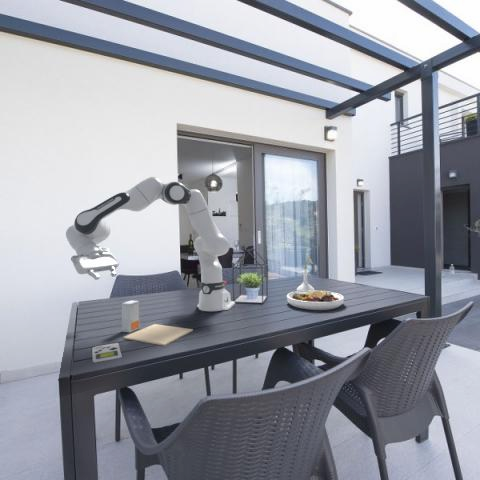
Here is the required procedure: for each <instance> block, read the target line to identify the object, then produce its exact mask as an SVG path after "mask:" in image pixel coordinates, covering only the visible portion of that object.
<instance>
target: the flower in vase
mask: <svg viewBox="0 0 480 480" xmlns="http://www.w3.org/2000/svg"><path fill="white" fill-rule="evenodd" d="M306 257H307V260H306V262H305V265H304V267H303V269H304V270H301V273H302V276H303V282H302V283H301V284H300V285H299V286H297V288H296V291H308V290H314V291H315V288H314V287H313V286H312V285H311V284H309V282H308V274H309V272H310V270H307V269H308V265H307V263H308V261H309V262H310V264H311V265H313V264H314V263H313V261H312V259H311V258H310V256H309V255H308V253H306Z"/></svg>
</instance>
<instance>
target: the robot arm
mask: <svg viewBox="0 0 480 480" xmlns="http://www.w3.org/2000/svg"><path fill="white" fill-rule="evenodd" d="M160 199H161V200H162V201H163V202H164V203H167V204H169V205H172V206H175V205H182V206H183V207H184V208H185V212H186V213H187V216H188V219H189V221H190V223H191V227H192V228H193V230H194V231H195V232H196V233H197V234H198V236H197V237H196V238H195V240H194V242H193V247H194V250H195V251H196V253H197V256H198V261H199V266H200V274H201V275H200V276H201V277H200V279H201V281H200V284H199V287H200V291H199V293H198V304H197V305H196V307H197V308H198V310H200V311H201V312H219V311H229V310H230V309H231V308H232V307H234V305H236V302H235V301H233V300H232V299H231V297H232V296H231V293H230V292H229V291H228V290H226V288H225V285H227V281H226V280H223V267H222V264H221V263H220V260H219V258H218V257H220V256H224V255H226V254H227V253H228V252H229V250H230V242H229V240H228V238H227V237H226V236H224V235H223V233H222V232H221V231H220V229H219V227H218V226H217V225H216V223H215V221H214V219H213V217H212V216H213V215H212V213H211V211H210V209H209V206H208V203H207V201H206V199H205V197H204V195H203V193H202V192H201V191H200V190H198V189H197V188H195V189H193V188H192V189H189V188H187V186H185V185H184V184H183V183H181V182H179V181H169V182H168V183H163V182H162V181H161V179H159V178H158V177H155V176H150V177H147V178H145V179H143V180H142V181H139V183H137V184H135V186H133V187H131V188H130V189H128V190H126V191H123V192H119V193H116V194H114V195H112V196H111V197H109V198H107V199H105V200H104V201H102V202H101V203H99V204H97V205H96V206H94V207H91V208H89V209H86V210H83V211H81V212H79V213H78V214H77V216H76V217H75V219H74V223H73V224H72V225H71V226H69V227H68V228H67V229H66V231H65V237H66V240H67V241H68V243H69V245H70V247H71V248H72V249H73V250H74V251H75V253H76V255H72V256H71V257H70V261H71V262H72V265H73V267H74V269H75V270H76V272H77V273H78V274H79V275H88V276H89V277H91V278H93V279H94V280H95V281H96V280H99V279H100V278H101V276H100V275H99V272H106V271H109V272H111V273H110V276H111V277H116V276H117V272H116V269H118V267H119V265H120V263H119V261H118V259H117V258H116V257H115V255H114V254H113V253H111V252H110V251H111V249H109V248H108V247H103V246H100V245H99V244H100V243H103V242H104V241H105V240H106V239H107V238H108V237H109V236H110V234H111V228H110V226H109V224H107V223H106V221H104V220H103V219H105V218H107V217H109V216H110V215H112V214H114V213H115V212H117V211H120V210H128V211H131V212H141V211H143V210H145V209H147V208H148V207H149V206H150V205H152V204H153V203H155V202H156V201H157V200H160Z"/></svg>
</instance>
